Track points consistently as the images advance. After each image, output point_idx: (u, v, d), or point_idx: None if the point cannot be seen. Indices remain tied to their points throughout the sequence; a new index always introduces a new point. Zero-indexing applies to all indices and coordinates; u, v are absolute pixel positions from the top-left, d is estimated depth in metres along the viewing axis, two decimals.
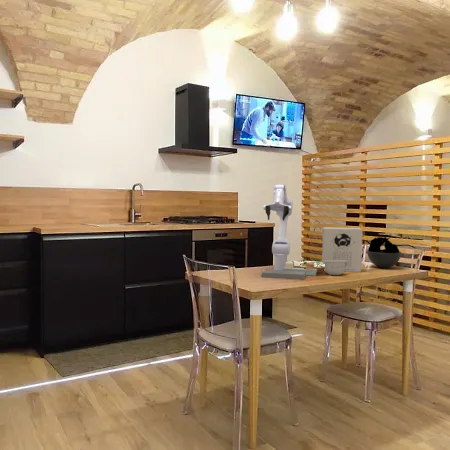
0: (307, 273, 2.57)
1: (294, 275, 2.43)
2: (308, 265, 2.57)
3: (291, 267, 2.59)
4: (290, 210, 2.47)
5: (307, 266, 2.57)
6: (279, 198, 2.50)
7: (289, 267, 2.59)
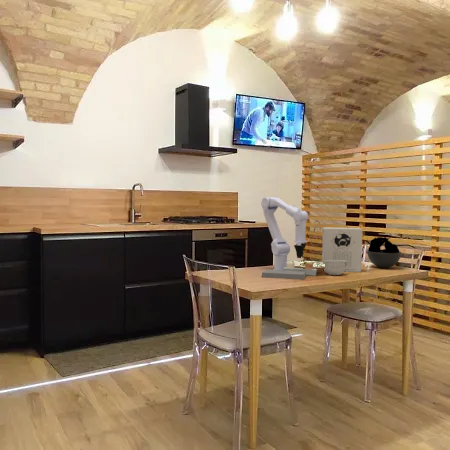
0: (307, 273, 2.57)
1: (294, 275, 2.43)
2: (307, 265, 2.57)
3: (292, 267, 2.59)
4: None
5: (306, 266, 2.57)
6: None
7: (290, 267, 2.59)
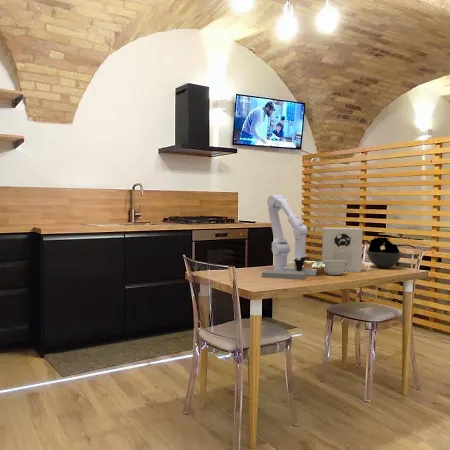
0: (307, 273, 2.57)
1: (294, 275, 2.43)
2: (306, 265, 2.57)
3: (293, 267, 2.59)
4: None
5: (305, 266, 2.57)
6: None
7: (291, 267, 2.59)
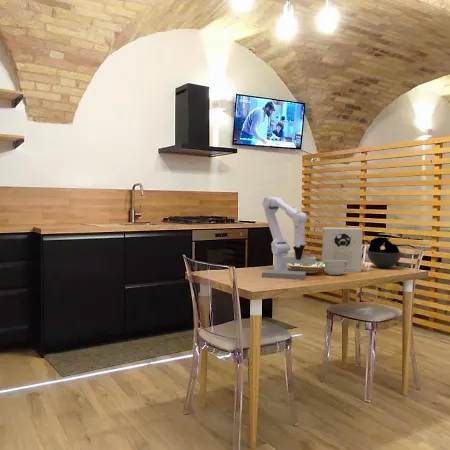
0: (306, 261, 2.55)
1: (294, 275, 2.43)
2: (304, 253, 2.56)
3: (293, 256, 2.58)
4: None
5: (303, 254, 2.56)
6: None
7: (291, 256, 2.58)
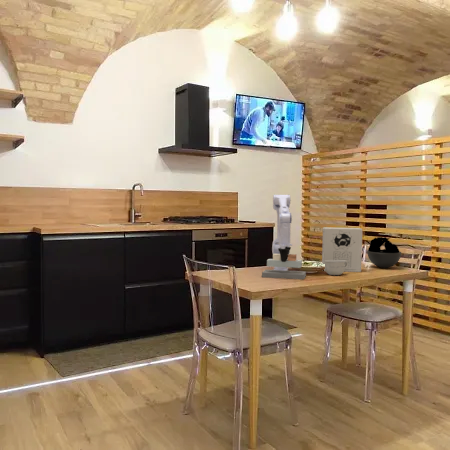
0: (292, 265, 2.46)
1: (294, 275, 2.43)
2: (290, 256, 2.47)
3: (279, 259, 2.49)
4: None
5: (289, 257, 2.47)
6: None
7: (277, 259, 2.49)
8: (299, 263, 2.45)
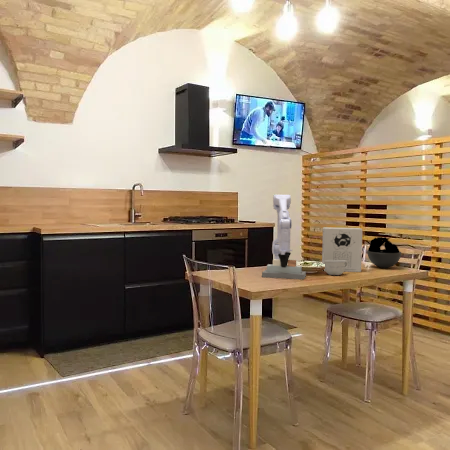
0: (292, 270, 2.47)
1: (294, 275, 2.43)
2: (290, 262, 2.47)
3: (279, 264, 2.49)
4: None
5: (289, 263, 2.48)
6: None
7: (276, 264, 2.49)
8: (299, 269, 2.46)
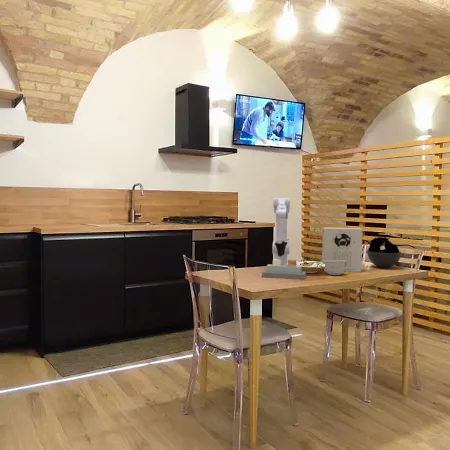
0: (292, 270, 2.47)
1: (294, 275, 2.43)
2: (290, 262, 2.47)
3: (279, 264, 2.49)
4: None
5: (289, 263, 2.48)
6: (286, 232, 2.56)
7: (276, 264, 2.49)
8: (299, 269, 2.46)
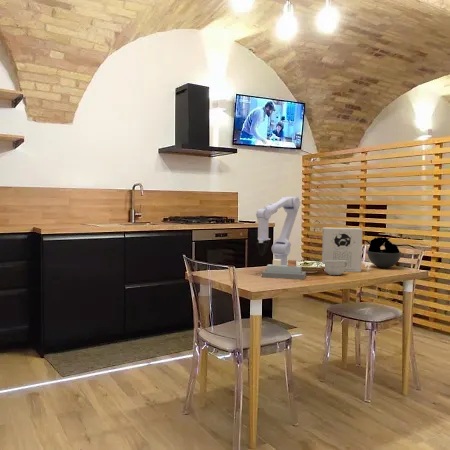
0: (292, 270, 2.47)
1: (294, 275, 2.43)
2: (290, 262, 2.47)
3: (279, 264, 2.49)
4: None
5: (289, 263, 2.48)
6: None
7: (276, 264, 2.49)
8: (299, 269, 2.46)
